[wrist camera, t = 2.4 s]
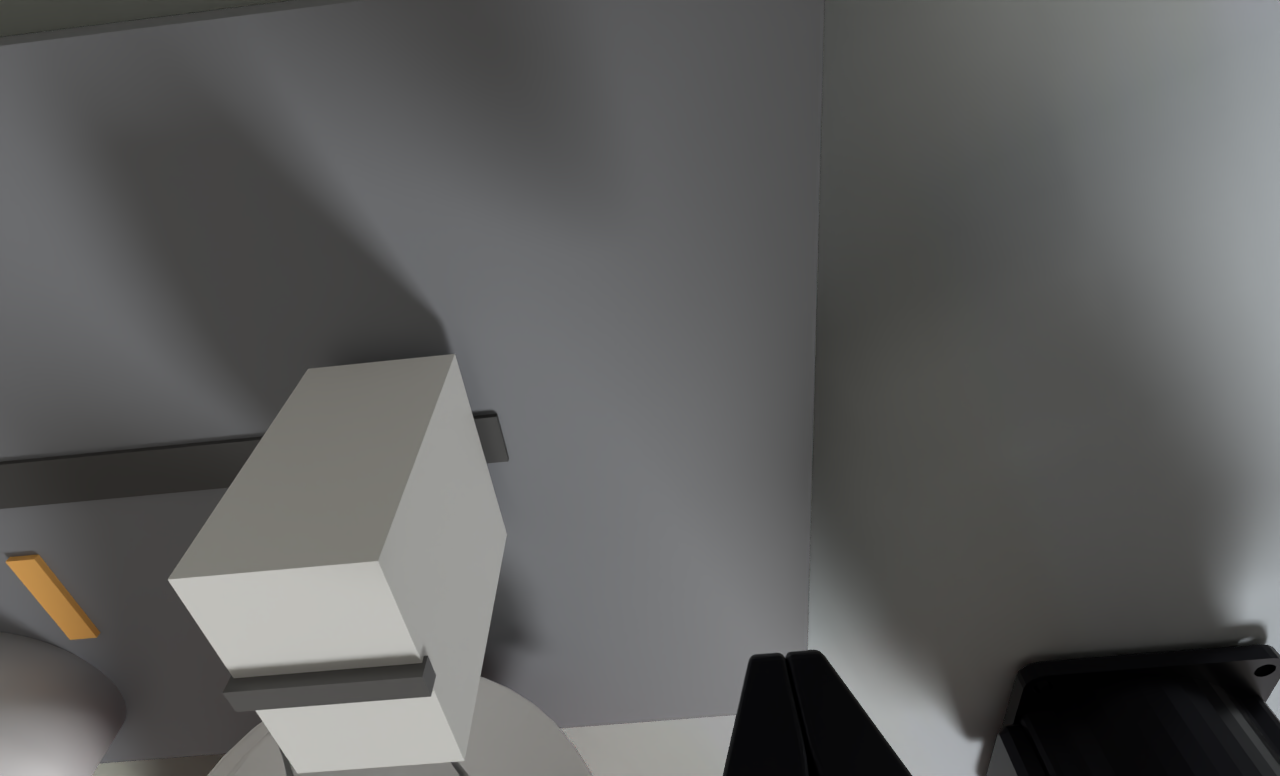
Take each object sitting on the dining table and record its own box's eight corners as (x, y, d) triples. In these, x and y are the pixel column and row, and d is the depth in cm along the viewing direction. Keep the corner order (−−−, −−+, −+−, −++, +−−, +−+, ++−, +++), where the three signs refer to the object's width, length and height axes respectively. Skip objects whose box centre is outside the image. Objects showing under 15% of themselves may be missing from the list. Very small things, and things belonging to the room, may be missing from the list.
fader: (458, 353, 12) (377, 574, 8) (509, 534, 14) (466, 774, 10) (304, 368, 12) (153, 593, 8) (380, 545, 14) (288, 787, 10)
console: (802, -64, 10) (874, -46, 7) (794, 656, 19) (825, 799, 16) (-640, 117, 11) (-1096, 199, 8) (-18, 720, 20) (-131, 867, 17)
